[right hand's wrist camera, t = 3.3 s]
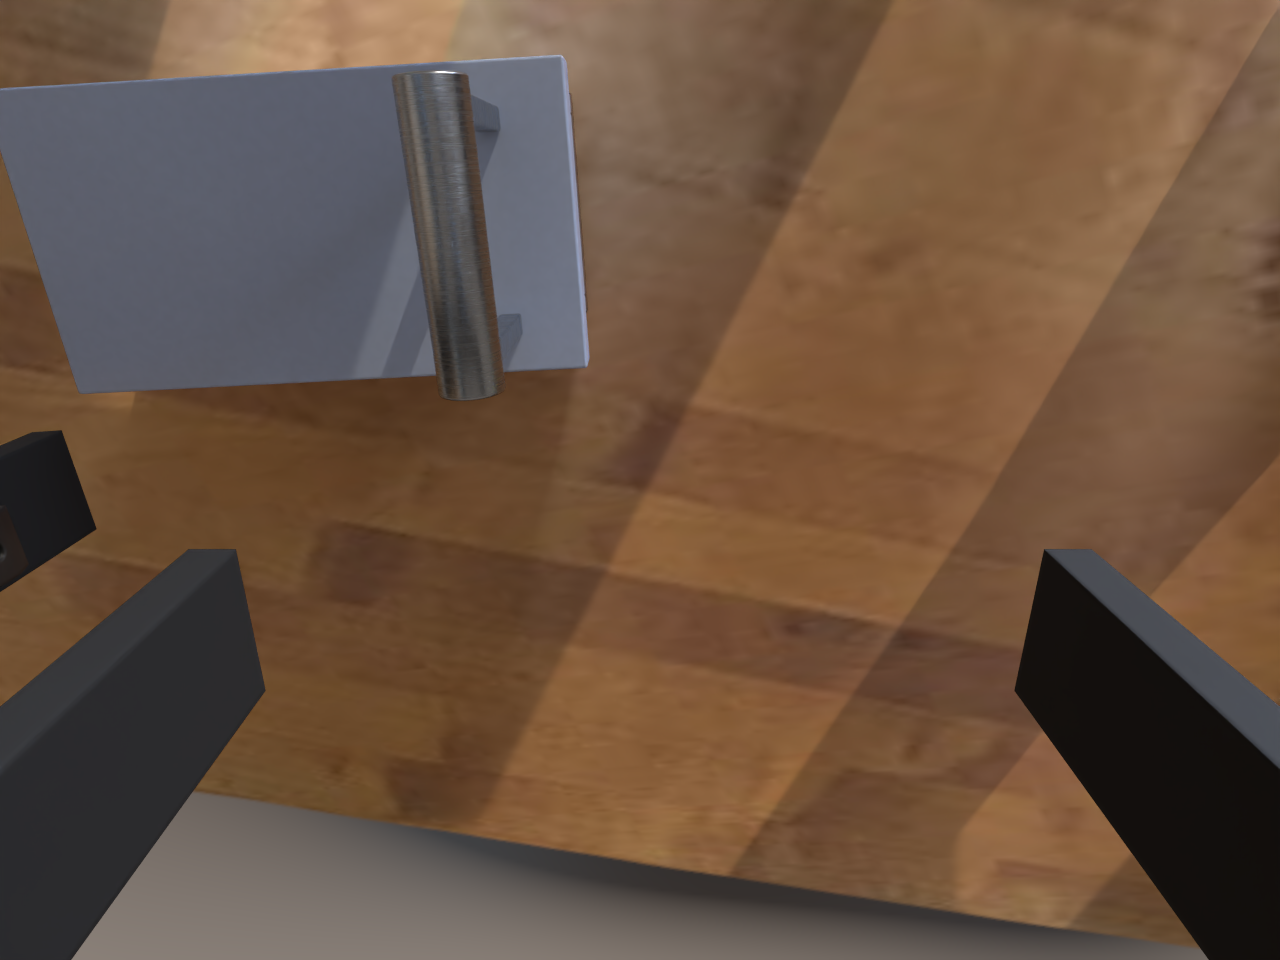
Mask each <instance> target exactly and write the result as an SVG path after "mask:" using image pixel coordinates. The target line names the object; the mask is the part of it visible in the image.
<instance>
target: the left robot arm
mask: <svg viewBox="0 0 1280 960" xmlns="http://www.w3.org/2000/svg"><path fill="white" fill-rule="evenodd" d="M94 530H96V526H95V523H94V520H93V518H92V515H91V512H90V509H89V506H88V504H87V501H86V498H85V495H84V492H83V489H82V487H81V484H80V481H79V478H78V475H77V473H76V470H75V467H74V464H73V461H72V459H71V456H70V453H69V450H68V447H67V444H66V442H65V439H64V436H63V433H62V430H60V431H45V432H32V433H29V434H27V435H25V436H22V437H20V438H17V439H15V440H13V441H10V442H8V443H6V444H3V445H1V446H0V592H1V591H2V590H4V589H5V588H7V587H8V586H10V585H12V584H13V583H15V582H16V581H18V580H19V579H21V578H22V577H24V576H25V575H27V574H28V573H30V572H31V571H33V570H35V569H36V568H38V567H39V566H41V565H42V564H44V563H45V562H47V561H48V560H50V559H51V558H53V557H55V556H56V555H58V554H59V553H61V552H62V551H64V550H65V549H67V548H68V547H70V546H71V545H73V544H74V543H76V542H78V541H79V540H81V539H82V538H84V537H85V536H87V535H88V534H90V533H91V532H93V531H94Z"/></svg>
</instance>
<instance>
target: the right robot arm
mask: <svg viewBox="0 0 1280 960" xmlns="http://www.w3.org/2000/svg"><path fill="white" fill-rule="evenodd" d="M264 692H265V686H264V681H263V676H262V672H261V667H260V662H259V657H258V653H257V648H256V643H255V638H254V633H253V629H252V624H251V619H250V614H249V610H248V605H247V600H246V595H245V591H244V586H243V581H242V576H241V572H240V567H239V562H238V557H237V553H236V549H188V550H187V551H186V552H185V553H184V554H182V555H181V556H180V557H179V558H178V559H176V560H175V561H174V562H173V563H172V564H170V565H169V566H168V567H167V568H166V569H164V570H163V571H162V572H161V573H160V574H158V575H157V576H156V577H155V578H154V579H152V580H151V581H150V582H149V583H148V584H147V585H145V586H144V587H143V588H142V589H141V590H139V591H138V592H137V593H136V594H135V595H133V596H132V597H131V598H130V599H129V600H127V601H126V602H125V603H124V604H123V605H121V606H120V607H119V608H118V609H117V610H115V611H114V612H113V613H112V614H111V615H109V616H108V617H107V618H106V619H105V620H103V621H102V622H101V623H100V624H99V625H97V626H96V627H95V628H94V629H93V630H91V631H90V632H89V633H88V634H87V635H85V636H84V637H83V638H82V639H81V640H79V641H78V642H77V643H76V644H75V645H73V646H72V647H71V648H70V649H69V650H68V651H66V652H65V653H64V654H63V655H62V656H60V657H59V658H58V659H57V660H56V661H54V662H53V663H52V664H51V665H50V666H48V667H47V668H46V669H45V670H44V671H42V672H41V673H40V674H39V675H38V676H36V677H35V678H34V679H33V680H32V681H30V682H29V683H28V684H27V685H26V686H24V687H23V688H22V689H21V690H20V691H18V692H17V693H16V694H15V695H14V696H12V697H11V698H10V699H9V700H8V701H6V702H5V703H4V704H3V705H2V706H0V960H71V959H72V958H73V956H74V955H75V954H76V952H77V951H78V950H79V948H80V947H81V945H82V944H83V943H84V941H85V940H86V938H87V937H88V936H89V934H90V933H91V932H92V930H93V929H94V927H95V926H96V925H97V923H98V922H99V920H100V919H101V918H102V916H103V915H104V914H105V912H106V911H107V909H108V908H109V907H110V905H111V904H112V902H113V901H114V900H115V898H116V897H117V896H118V894H119V893H120V891H121V890H122V889H123V887H124V886H125V884H126V883H127V882H128V880H129V879H130V877H131V876H132V875H133V873H134V872H135V871H136V869H137V868H138V866H139V865H140V864H141V862H142V861H143V860H144V858H145V857H146V855H147V854H148V853H149V851H150V850H151V848H152V847H153V846H154V844H155V843H156V842H157V840H158V839H159V837H160V836H161V835H162V833H163V832H164V830H165V829H166V828H167V826H168V825H169V823H170V822H171V821H172V819H173V818H174V817H175V815H176V814H177V812H178V811H179V810H180V808H181V807H182V806H183V804H184V803H185V801H186V800H187V799H188V797H189V796H190V794H191V793H192V792H193V790H194V789H195V788H196V786H197V785H198V783H199V782H200V781H201V779H202V778H203V776H204V775H205V774H206V772H207V771H208V770H209V768H210V767H211V765H212V764H213V763H214V761H215V760H216V758H217V757H218V756H219V754H220V753H221V752H222V750H223V749H224V747H225V746H226V745H227V743H228V742H229V741H230V739H231V738H232V736H233V735H234V734H235V732H236V731H237V729H238V728H239V727H240V725H241V724H242V723H243V721H244V720H245V718H246V717H247V716H248V714H249V713H250V711H251V710H252V709H253V707H254V706H255V705H256V703H257V702H258V700H259V699H260V698H261V696H262V695H263V693H264ZM1015 692H1016V693H1017V695H1018V696H1019V698H1020V699H1021V700H1022V702H1023V703H1024V705H1025V706H1026V707H1027V709H1028V710H1029V711H1030V713H1031V714H1032V716H1033V717H1034V718H1035V720H1036V721H1037V723H1038V724H1039V725H1040V727H1041V728H1042V729H1043V731H1044V732H1045V734H1046V735H1047V736H1048V738H1049V739H1050V741H1051V742H1052V743H1053V745H1054V746H1055V747H1056V749H1057V750H1058V752H1059V753H1060V754H1061V756H1062V757H1063V759H1064V760H1065V761H1066V763H1067V764H1068V765H1069V767H1070V768H1071V770H1072V771H1073V772H1074V774H1075V775H1076V776H1077V778H1078V779H1079V781H1080V782H1081V783H1082V785H1083V786H1084V788H1085V789H1086V790H1087V792H1088V793H1089V794H1090V796H1091V797H1092V799H1093V800H1094V801H1095V803H1096V804H1097V806H1098V807H1099V808H1100V810H1101V811H1102V812H1103V814H1104V815H1105V817H1106V818H1107V819H1108V821H1109V822H1110V824H1111V825H1112V826H1113V828H1114V829H1115V830H1116V832H1117V833H1118V835H1119V836H1120V837H1121V839H1122V840H1123V842H1124V843H1125V844H1126V846H1127V847H1128V848H1129V850H1130V851H1131V853H1132V854H1133V855H1134V857H1135V858H1136V860H1137V861H1138V862H1139V864H1140V865H1141V866H1142V868H1143V869H1144V871H1145V872H1146V873H1147V875H1148V876H1149V878H1150V879H1151V880H1152V882H1153V883H1154V884H1155V886H1156V887H1157V889H1158V890H1159V891H1160V893H1161V894H1162V896H1163V897H1164V898H1165V900H1166V901H1167V902H1168V904H1169V905H1170V907H1171V908H1172V909H1173V911H1174V912H1175V914H1176V915H1177V916H1178V918H1179V919H1180V920H1181V922H1182V923H1183V925H1184V926H1185V927H1186V929H1187V930H1188V932H1189V933H1190V934H1191V936H1192V937H1193V938H1194V940H1195V941H1196V943H1197V944H1198V945H1199V947H1200V948H1201V950H1202V951H1203V952H1204V954H1205V955H1206V956H1207V958H1208V959H1209V960H1280V706H1278V705H1277V704H1276V703H1275V702H1274V701H1272V700H1271V699H1270V698H1269V697H1268V696H1266V695H1265V694H1264V693H1263V692H1262V691H1260V690H1259V689H1258V688H1257V687H1256V686H1254V685H1253V684H1252V683H1251V682H1250V681H1248V680H1247V679H1246V678H1245V677H1244V676H1242V675H1241V674H1240V673H1239V672H1238V671H1236V670H1235V669H1234V668H1233V667H1232V666H1230V665H1229V664H1228V663H1227V662H1226V661H1224V660H1223V659H1222V658H1221V657H1220V656H1218V655H1217V654H1216V653H1215V652H1214V651H1212V650H1211V649H1210V648H1209V647H1208V646H1207V645H1205V644H1204V643H1203V642H1202V641H1201V640H1199V639H1198V638H1197V637H1196V636H1195V635H1193V634H1192V633H1191V632H1190V631H1189V630H1187V629H1186V628H1185V627H1184V626H1183V625H1181V624H1180V623H1179V622H1178V621H1177V620H1175V619H1174V618H1173V617H1172V616H1171V615H1169V614H1168V613H1167V612H1166V611H1165V610H1163V609H1162V608H1161V607H1160V606H1159V605H1157V604H1156V603H1155V602H1154V601H1153V600H1151V599H1150V598H1149V597H1148V596H1147V595H1145V594H1144V593H1143V592H1142V591H1141V590H1139V589H1138V588H1137V587H1136V586H1135V585H1133V584H1132V583H1131V582H1130V581H1129V580H1128V579H1126V578H1125V577H1124V576H1123V575H1122V574H1120V573H1119V572H1118V571H1117V570H1116V569H1114V568H1113V567H1112V566H1111V565H1110V564H1108V563H1107V562H1106V561H1105V560H1104V559H1102V558H1101V557H1100V556H1099V555H1098V554H1096V553H1095V552H1094V551H1093V550H1092V549H1044V553H1043V557H1042V562H1041V567H1040V572H1039V576H1038V581H1037V586H1036V591H1035V595H1034V600H1033V605H1032V610H1031V614H1030V619H1029V624H1028V629H1027V633H1026V638H1025V643H1024V648H1023V652H1022V657H1021V662H1020V667H1019V671H1018V676H1017V681H1016V686H1015Z"/></svg>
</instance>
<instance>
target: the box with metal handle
mask: <svg viewBox="0 0 1280 960" xmlns="http://www.w3.org/2000/svg"><path fill="white" fill-rule="evenodd" d="M0 151H1V154H2V158H3V161H4V164H5V167H6V170H7V173H8V176H9V179H10V182H11V185H12V188H13V191H14V195H15V198H16V201H17V204H18V207H19V210H20V213H21V216H22V219H23V222H24V225H25V228H26V231H27V235H28V238H29V241H30V244H31V247H32V250H33V253H34V256H35V259H36V262H37V265H38V268H39V272H40V275H41V278H42V281H43V284H44V287H45V290H46V293H47V296H48V299H49V302H50V305H51V308H52V312H53V315H54V318H55V321H56V324H57V327H58V330H59V333H60V336H61V339H62V342H63V345H64V349H65V352H66V355H67V358H68V361H69V364H70V367H71V370H72V373H73V376H74V379H75V382H76V385H77V389H78V392H79V393H81V394H91V393H110V392H130V391H149V390H169V389H188V388H208V387H227V386H246V385H266V384H285V383H305V382H324V381H343V380H363V379H382V378H402V377H421V376H436V378H437V384H438V391H439V395H440V397H441V398H444V399H447V400H454V401H469V400H478V399H484V398H489V397H492V396H495V395H498V394H500V393H502V392H503V391H504V390H505V379H504V372H518V371H537V370H557V369H576V368H586V367H587V365H588V362H589V345H588V332H587V319H586V306H585V293H584V280H583V267H582V254H581V241H580V228H579V215H578V202H577V190H576V177H575V164H574V151H573V138H572V125H571V112H570V99H569V86H568V73H567V63H566V60H565V59H564V58H563V56H561V55H550V56H533V57H517V58H500V59H483V60H466V61H450V62H433V63H416V64H400V65H383V66H366V67H350V68H333V69H316V70H300V71H283V72H266V73H249V74H233V75H216V76H199V77H183V78H166V79H149V80H133V81H116V82H99V83H82V84H66V85H49V86H32V87H16V88H0Z"/></svg>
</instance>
